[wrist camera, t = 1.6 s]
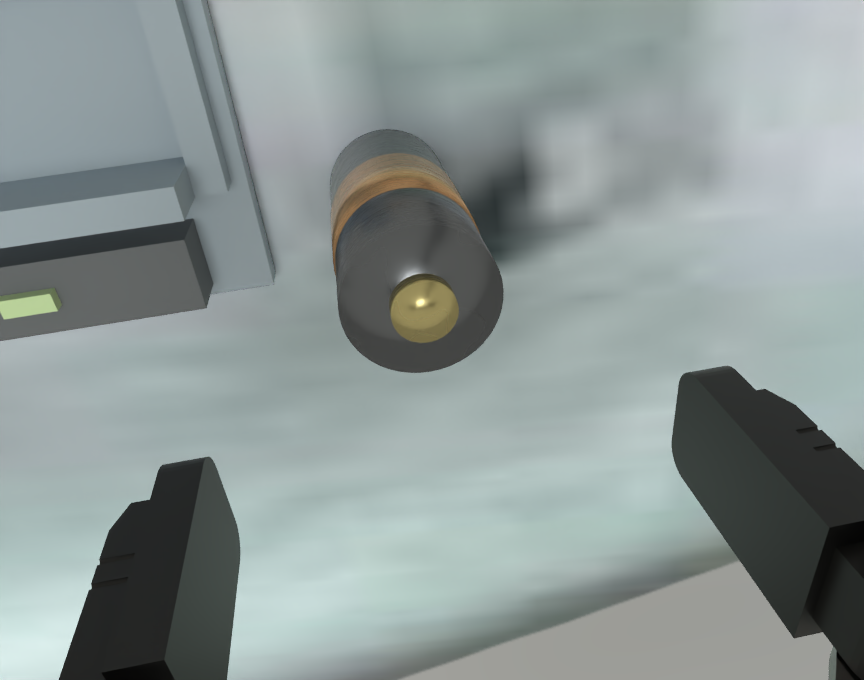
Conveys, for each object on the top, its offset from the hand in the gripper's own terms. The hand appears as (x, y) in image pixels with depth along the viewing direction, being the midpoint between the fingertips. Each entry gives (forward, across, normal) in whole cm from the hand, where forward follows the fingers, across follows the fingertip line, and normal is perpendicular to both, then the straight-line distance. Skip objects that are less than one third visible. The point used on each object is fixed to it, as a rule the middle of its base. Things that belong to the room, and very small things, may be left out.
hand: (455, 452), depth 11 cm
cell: (+14, 0, 0) cm, 14 cm away
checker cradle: (+14, +10, -4) cm, 17 cm away
